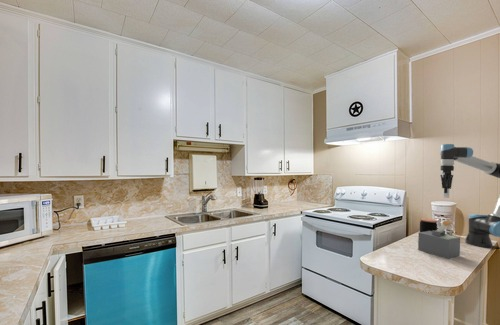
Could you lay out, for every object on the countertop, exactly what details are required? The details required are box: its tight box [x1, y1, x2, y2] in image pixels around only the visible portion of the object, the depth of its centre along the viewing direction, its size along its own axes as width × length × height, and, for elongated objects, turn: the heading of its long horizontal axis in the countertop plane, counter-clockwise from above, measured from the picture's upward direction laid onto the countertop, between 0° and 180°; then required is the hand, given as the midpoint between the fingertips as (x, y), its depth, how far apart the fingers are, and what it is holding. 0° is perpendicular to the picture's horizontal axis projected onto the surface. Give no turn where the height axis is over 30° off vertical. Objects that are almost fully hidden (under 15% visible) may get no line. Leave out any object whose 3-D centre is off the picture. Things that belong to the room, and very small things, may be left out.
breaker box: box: [417, 230, 461, 260], centre depth 164 cm, size 14×18×15 cm
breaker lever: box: [436, 220, 453, 234], centre depth 162 cm, size 6×2×11 cm
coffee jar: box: [419, 217, 438, 232], centre depth 185 cm, size 11×11×18 cm
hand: (446, 197), depth 176 cm, fingers closed
